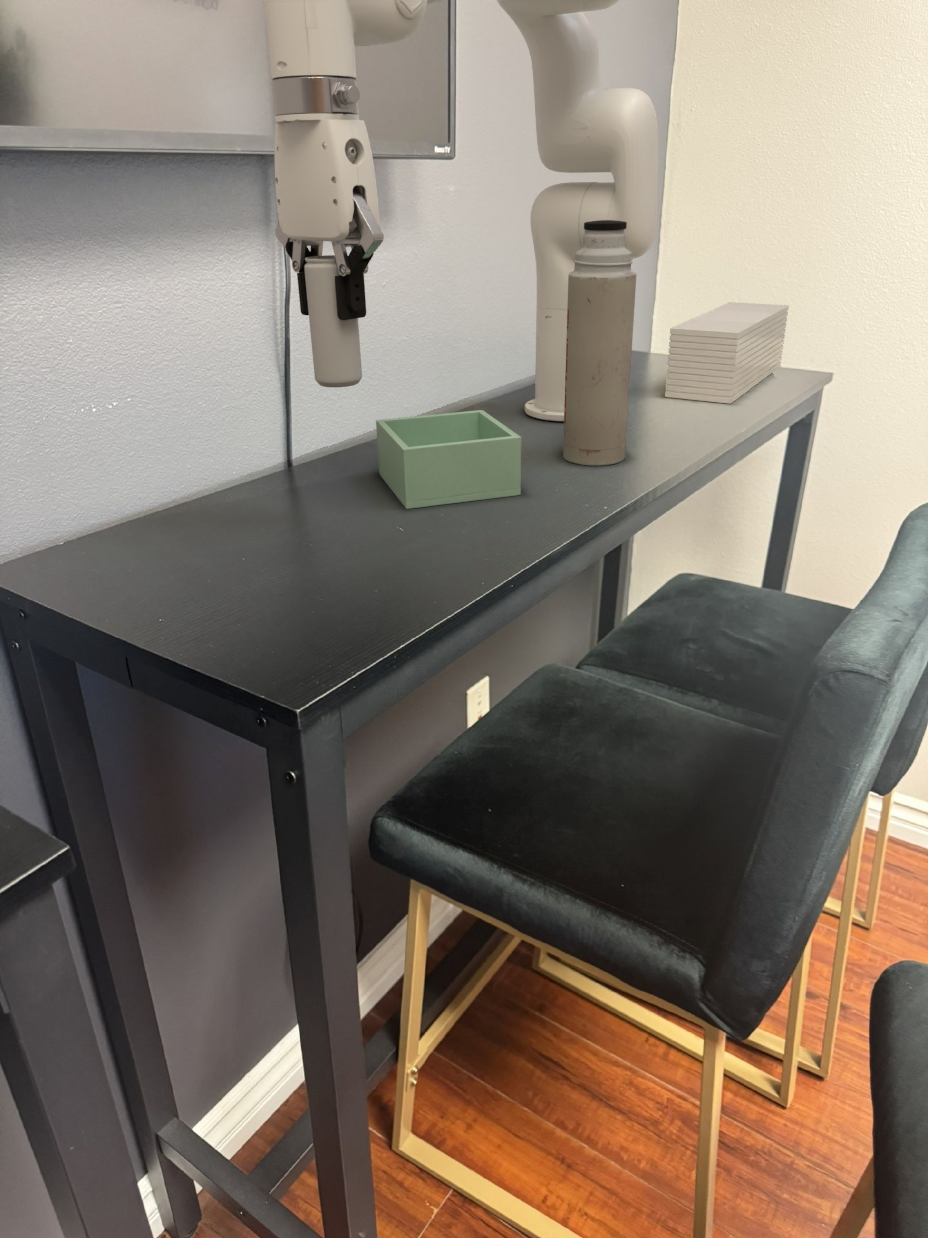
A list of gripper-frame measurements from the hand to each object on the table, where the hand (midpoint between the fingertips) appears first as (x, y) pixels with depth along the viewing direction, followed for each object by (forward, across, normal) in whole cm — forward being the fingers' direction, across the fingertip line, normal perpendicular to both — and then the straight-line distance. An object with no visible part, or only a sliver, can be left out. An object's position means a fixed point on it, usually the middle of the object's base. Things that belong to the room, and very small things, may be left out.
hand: (333, 313), depth 89 cm
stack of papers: (+21, 0, -86) cm, 89 cm away
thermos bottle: (+21, -8, -35) cm, 42 cm away
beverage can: (+7, 0, 0) cm, 7 cm away
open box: (+21, -1, -15) cm, 26 cm away
